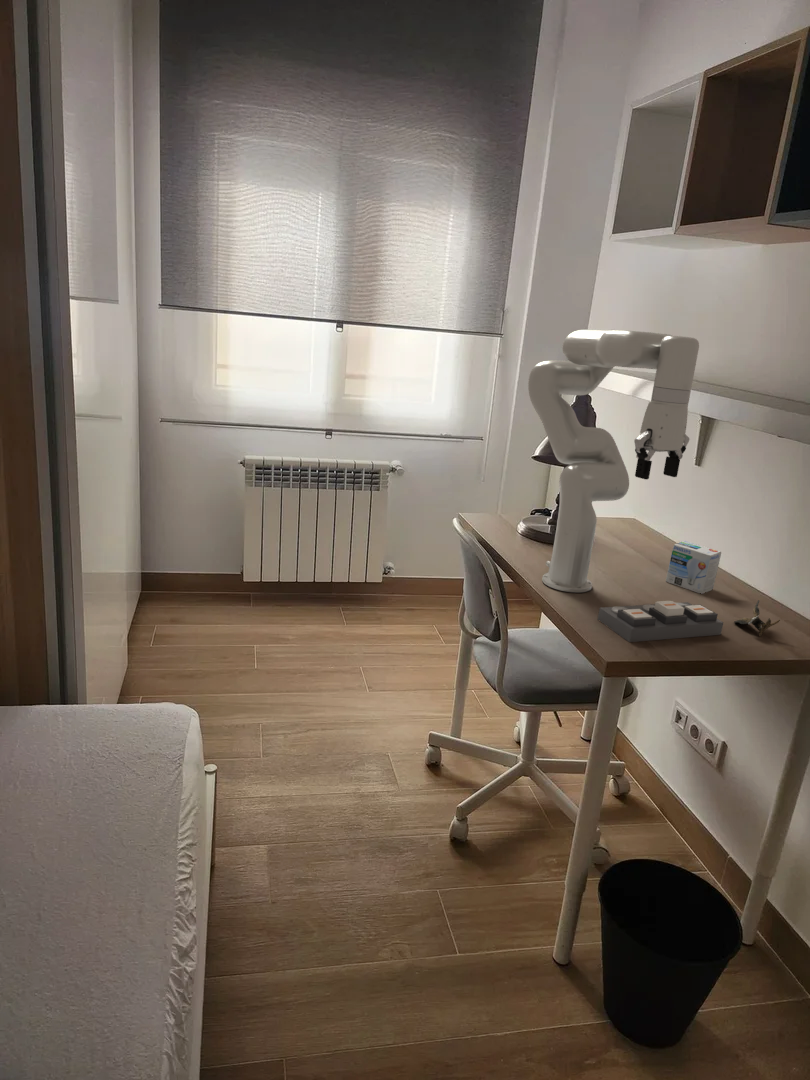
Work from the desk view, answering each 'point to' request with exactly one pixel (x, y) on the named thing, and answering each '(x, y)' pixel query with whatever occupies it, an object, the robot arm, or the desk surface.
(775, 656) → the desk surface
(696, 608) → the right button
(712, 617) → the button panel
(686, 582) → the light bulb box
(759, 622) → the eagle figurine
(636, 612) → the left button
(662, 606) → the middle button
